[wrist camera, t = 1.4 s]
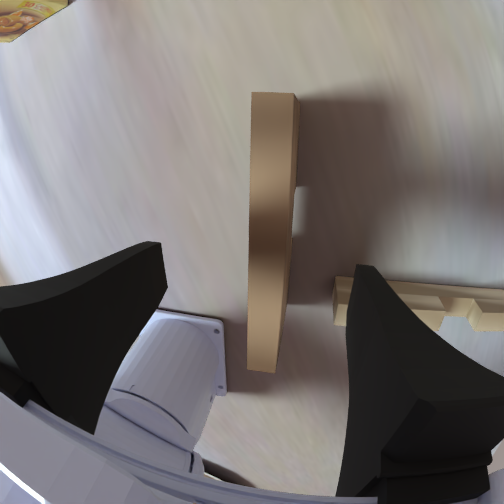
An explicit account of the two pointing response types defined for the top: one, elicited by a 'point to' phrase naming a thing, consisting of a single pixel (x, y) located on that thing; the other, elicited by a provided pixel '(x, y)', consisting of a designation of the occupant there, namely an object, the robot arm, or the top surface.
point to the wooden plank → (270, 222)
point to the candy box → (24, 15)
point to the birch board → (434, 303)
